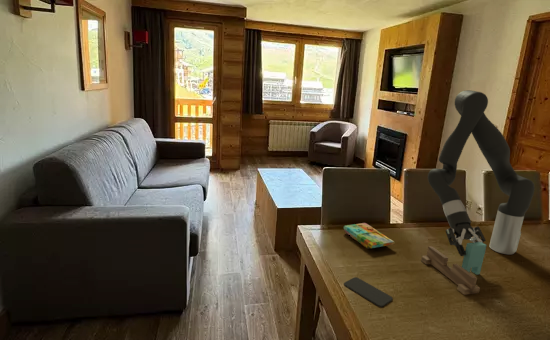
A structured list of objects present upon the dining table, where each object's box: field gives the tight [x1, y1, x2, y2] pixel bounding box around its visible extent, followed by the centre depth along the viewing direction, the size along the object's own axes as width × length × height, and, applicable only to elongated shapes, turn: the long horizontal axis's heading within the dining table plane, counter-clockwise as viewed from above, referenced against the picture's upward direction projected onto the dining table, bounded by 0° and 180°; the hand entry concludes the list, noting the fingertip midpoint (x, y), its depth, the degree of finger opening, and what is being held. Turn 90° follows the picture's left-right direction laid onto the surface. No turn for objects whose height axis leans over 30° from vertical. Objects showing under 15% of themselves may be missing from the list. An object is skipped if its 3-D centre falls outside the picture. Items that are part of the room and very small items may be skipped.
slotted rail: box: [420, 245, 481, 296], centre depth 119 cm, size 6×22×6 cm, turn 14°
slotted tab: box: [461, 242, 487, 275], centre depth 121 cm, size 6×2×12 cm, turn 104°
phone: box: [343, 277, 394, 308], centre depth 108 cm, size 7×1×15 cm
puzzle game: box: [343, 222, 396, 249], centre depth 144 cm, size 12×5×20 cm
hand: (473, 254), depth 121 cm, fingers open, 8 cm apart
